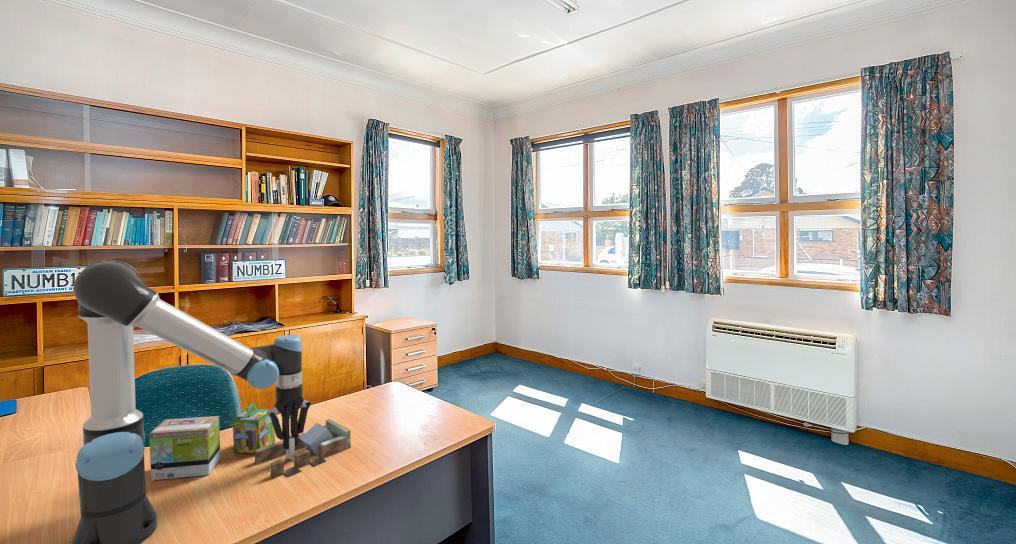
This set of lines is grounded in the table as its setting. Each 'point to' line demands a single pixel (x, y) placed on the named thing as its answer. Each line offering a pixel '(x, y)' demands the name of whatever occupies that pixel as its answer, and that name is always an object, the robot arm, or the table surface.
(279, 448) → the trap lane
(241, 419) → the chalk box
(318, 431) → the block
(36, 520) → the table surface
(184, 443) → the tea box
